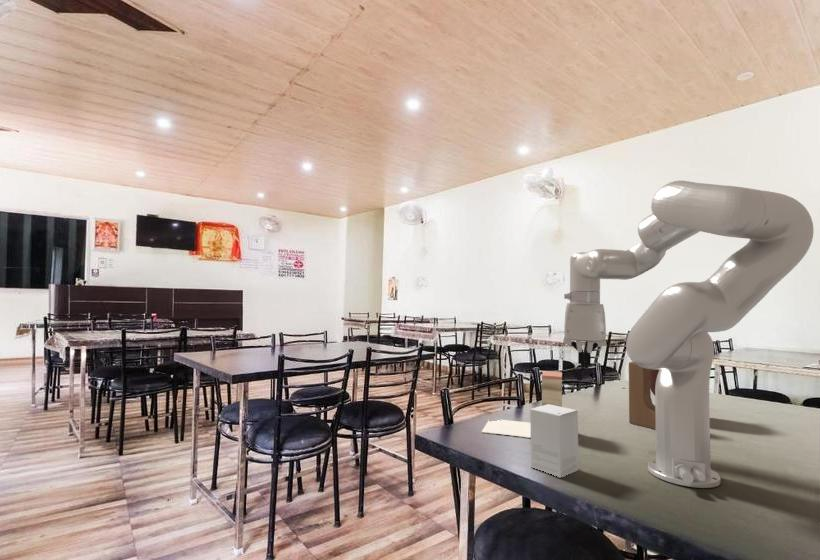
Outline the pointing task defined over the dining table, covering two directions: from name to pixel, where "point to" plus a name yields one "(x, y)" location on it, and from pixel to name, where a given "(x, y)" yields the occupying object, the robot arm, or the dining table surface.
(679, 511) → the dining table surface
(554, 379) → the ash block
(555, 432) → the supplement box
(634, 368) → the wooden block
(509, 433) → the pad
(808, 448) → the dining table surface
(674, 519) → the dining table surface
